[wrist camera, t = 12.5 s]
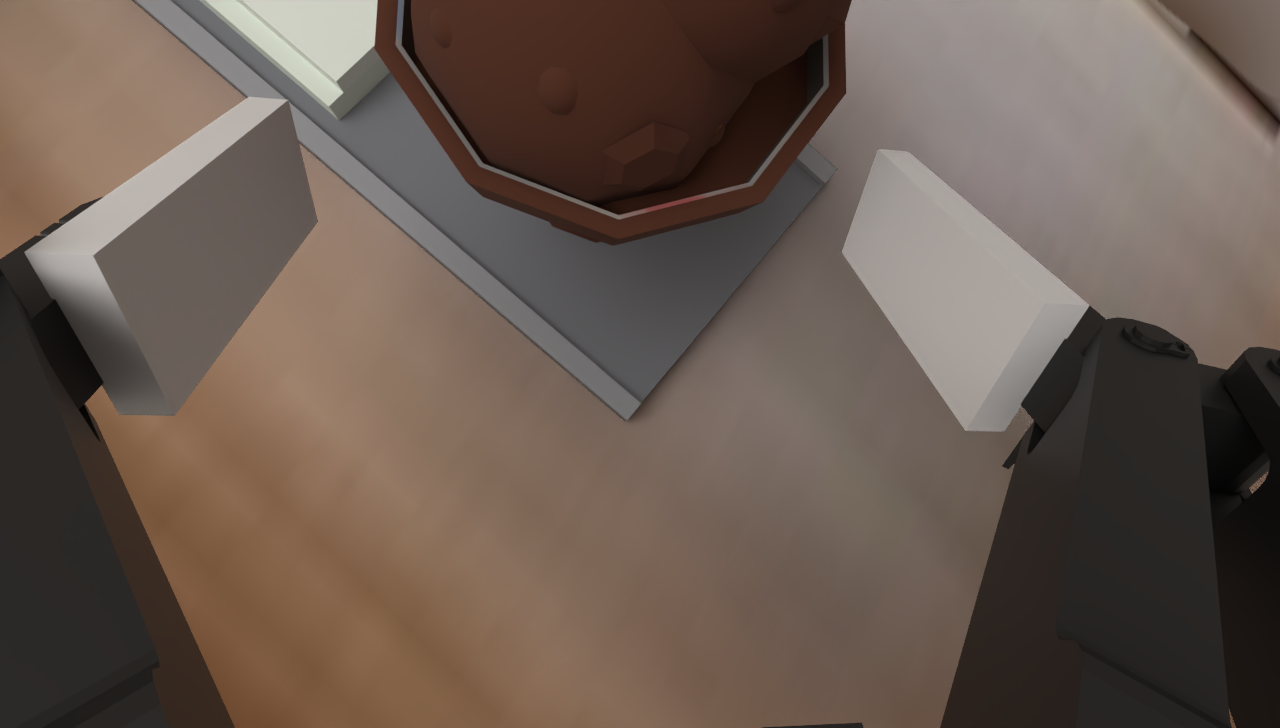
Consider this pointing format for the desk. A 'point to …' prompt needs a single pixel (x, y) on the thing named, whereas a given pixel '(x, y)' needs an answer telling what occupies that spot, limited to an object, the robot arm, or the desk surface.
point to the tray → (521, 228)
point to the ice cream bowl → (619, 101)
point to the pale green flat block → (313, 44)
